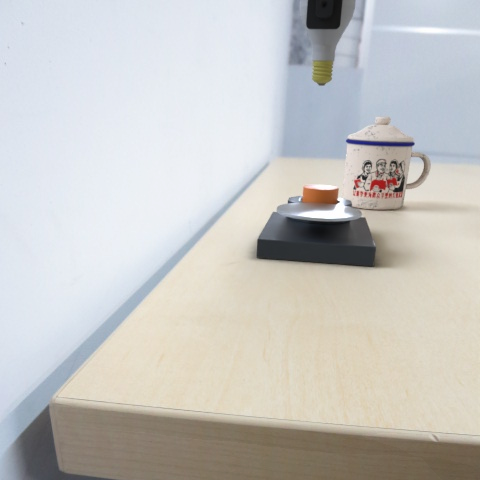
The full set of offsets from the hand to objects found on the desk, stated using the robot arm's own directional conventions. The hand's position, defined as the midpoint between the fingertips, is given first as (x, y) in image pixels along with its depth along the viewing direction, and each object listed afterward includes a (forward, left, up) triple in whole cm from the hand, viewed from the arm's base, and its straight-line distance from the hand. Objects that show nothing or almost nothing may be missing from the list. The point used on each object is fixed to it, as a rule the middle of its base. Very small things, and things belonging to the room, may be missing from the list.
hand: (323, 31), depth 50 cm
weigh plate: (+5, +11, -16) cm, 20 cm away
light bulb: (0, 0, -5) cm, 5 cm away
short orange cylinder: (+1, +5, -16) cm, 17 cm away
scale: (+3, +9, -19) cm, 22 cm away
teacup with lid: (-16, -10, -20) cm, 27 cm away
